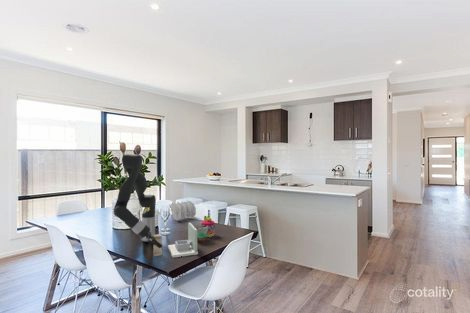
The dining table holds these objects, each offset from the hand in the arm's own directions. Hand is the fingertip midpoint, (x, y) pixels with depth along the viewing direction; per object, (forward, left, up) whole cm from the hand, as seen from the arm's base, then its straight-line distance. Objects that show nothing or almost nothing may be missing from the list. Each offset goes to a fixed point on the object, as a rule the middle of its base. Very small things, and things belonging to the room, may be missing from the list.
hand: (160, 245), depth 173 cm
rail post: (0, -2, -5) cm, 6 cm away
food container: (-15, +31, -6) cm, 35 cm away
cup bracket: (-1, +14, -5) cm, 15 cm away
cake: (-27, +39, -6) cm, 48 cm away
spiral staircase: (-88, +32, -6) cm, 94 cm away
